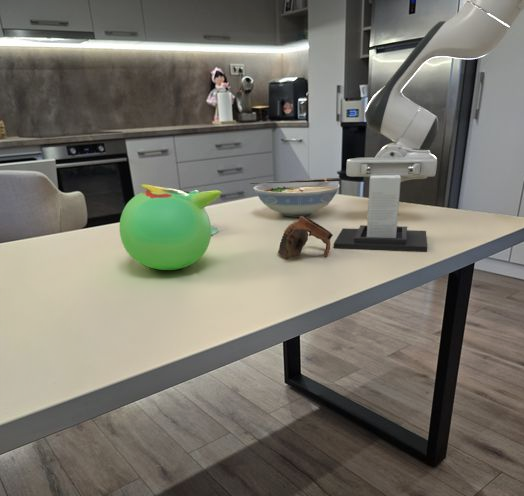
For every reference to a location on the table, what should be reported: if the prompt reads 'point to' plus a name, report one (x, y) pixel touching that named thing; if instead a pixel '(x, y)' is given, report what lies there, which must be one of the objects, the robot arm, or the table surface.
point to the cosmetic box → (383, 206)
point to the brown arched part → (302, 237)
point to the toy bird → (167, 227)
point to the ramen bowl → (297, 195)
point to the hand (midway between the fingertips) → (389, 170)
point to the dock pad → (382, 240)
